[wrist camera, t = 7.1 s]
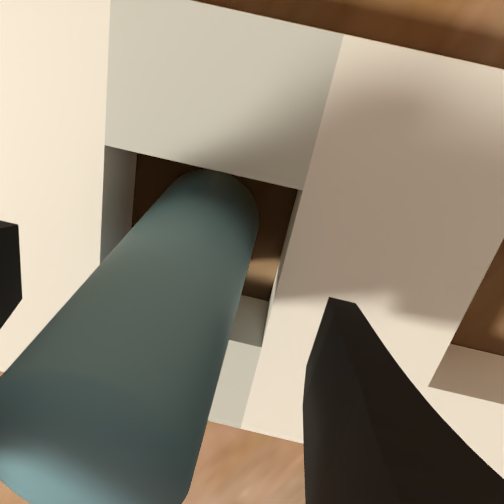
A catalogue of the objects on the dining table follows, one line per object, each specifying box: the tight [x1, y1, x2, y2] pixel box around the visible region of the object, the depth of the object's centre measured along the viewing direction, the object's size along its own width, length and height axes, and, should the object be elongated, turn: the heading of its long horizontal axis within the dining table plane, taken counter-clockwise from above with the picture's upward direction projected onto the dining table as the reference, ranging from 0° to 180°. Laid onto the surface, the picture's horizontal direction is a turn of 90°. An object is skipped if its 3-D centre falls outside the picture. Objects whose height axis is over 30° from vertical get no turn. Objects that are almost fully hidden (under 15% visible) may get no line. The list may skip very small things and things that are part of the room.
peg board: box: [0, 0, 504, 479], centre depth 13 cm, size 22×12×2 cm, turn 79°
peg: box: [0, 169, 259, 504], centre depth 10 cm, size 3×3×9 cm
